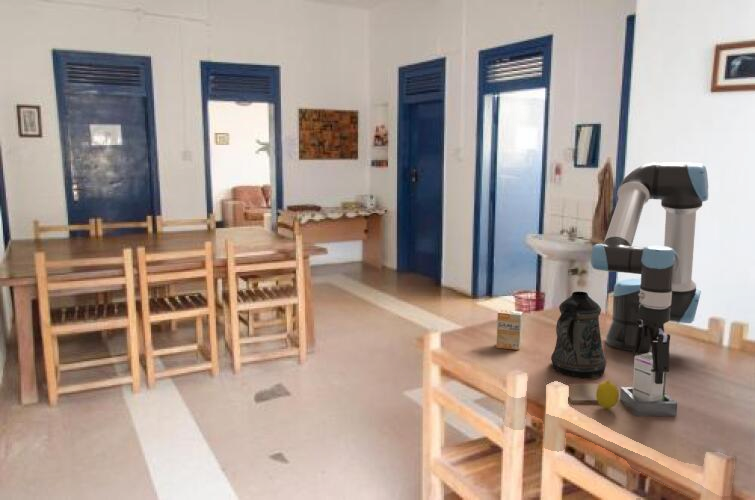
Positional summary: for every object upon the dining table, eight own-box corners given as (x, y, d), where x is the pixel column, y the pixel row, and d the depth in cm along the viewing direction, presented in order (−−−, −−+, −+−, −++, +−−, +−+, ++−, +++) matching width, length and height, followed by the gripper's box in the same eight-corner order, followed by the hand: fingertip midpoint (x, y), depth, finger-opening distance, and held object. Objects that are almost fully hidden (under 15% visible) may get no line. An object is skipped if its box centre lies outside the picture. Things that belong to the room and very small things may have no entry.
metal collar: (657, 398, 159) (658, 386, 158) (676, 415, 148) (677, 403, 148) (620, 398, 159) (620, 387, 158) (636, 416, 149) (637, 403, 148)
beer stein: (604, 362, 186) (608, 288, 181) (607, 385, 168) (612, 304, 163) (551, 357, 191) (554, 285, 187) (549, 379, 173) (552, 300, 169)
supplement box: (495, 348, 201) (496, 312, 198) (498, 343, 205) (499, 308, 203) (519, 350, 197) (520, 314, 195) (521, 346, 202) (522, 310, 200)
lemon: (591, 405, 155) (593, 377, 154) (611, 404, 156) (613, 376, 154) (601, 414, 150) (603, 385, 149) (621, 413, 150) (623, 384, 149)
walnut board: (597, 386, 167) (597, 383, 167) (612, 403, 156) (612, 399, 156) (559, 387, 167) (559, 384, 167) (571, 403, 156) (572, 400, 156)
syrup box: (649, 414, 150) (653, 361, 147) (630, 405, 155) (634, 354, 152) (664, 409, 152) (668, 357, 150) (644, 400, 157) (648, 350, 155)
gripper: (624, 295, 159) (619, 373, 163) (658, 316, 139) (652, 404, 143) (651, 295, 158) (645, 372, 162) (689, 316, 139) (682, 404, 143)
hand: (648, 387), depth 153 cm, fingers closed on syrup box, 7 cm apart
